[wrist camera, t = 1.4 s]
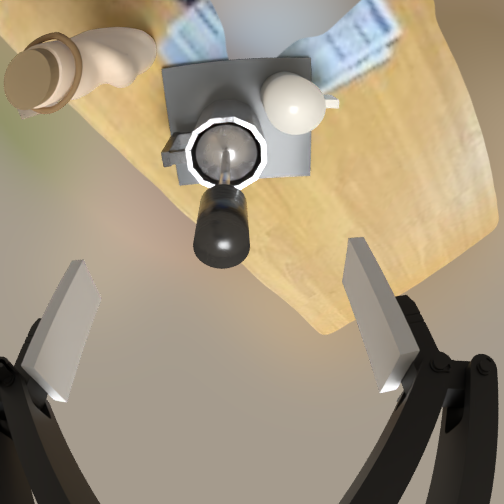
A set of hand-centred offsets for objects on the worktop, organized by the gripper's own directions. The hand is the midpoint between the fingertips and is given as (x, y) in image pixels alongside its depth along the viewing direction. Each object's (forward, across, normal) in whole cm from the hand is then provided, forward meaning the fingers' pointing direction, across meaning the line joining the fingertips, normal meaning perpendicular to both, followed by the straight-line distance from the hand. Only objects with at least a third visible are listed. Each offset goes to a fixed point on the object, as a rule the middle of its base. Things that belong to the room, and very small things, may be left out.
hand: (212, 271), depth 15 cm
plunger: (+26, 0, -3) cm, 26 cm away
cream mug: (+37, +10, +2) cm, 38 cm away
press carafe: (+37, -2, -3) cm, 37 cm away
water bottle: (+38, -14, +11) cm, 42 cm away
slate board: (+38, +2, -2) cm, 38 cm away
